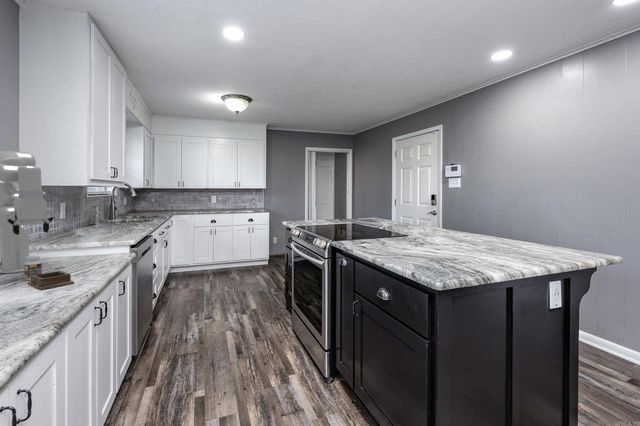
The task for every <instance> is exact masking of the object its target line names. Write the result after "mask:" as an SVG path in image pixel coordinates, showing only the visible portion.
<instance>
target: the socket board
mask: <svg viewBox="0 0 640 426" xmlns="http://www.w3.org/2000/svg"><path fill="white" fill-rule="evenodd" d="M71 278H72V277H71V273H67V272H66V271H62V270H57V271H56V270H55V271H50V272H44V273H42V274H38V275H32V276H31V280H30V281H28V282H27V285H28V286H30V287H32V288H34V289H37V290H39V291H47V290H51V289H56V288H60V287H66V286H71V285H75V281H74V280H71Z"/></svg>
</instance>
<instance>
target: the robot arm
mask: <svg viewBox="0 0 640 426" xmlns="http://www.w3.org/2000/svg"><path fill="white" fill-rule="evenodd" d="M13 183H17V188H16V186H15V185H14V184H13ZM17 189H18V190H17ZM46 194H47V192H46V191H43V189H42V169H41V168H40V167H38V166H36V158H35V156H34V155H33V154H32V153H29V152H22V151H14V150H13V151H12V150H2V151H1V150H0V244H1V245H0V246H1V263H2V265H1V266H2V267H1V268H0V274H16V273H24V263H25V262H26V260H25V257H29V256H30V244H29V243H30V241H29V239H30V237H29V233H28V231H27V230H26V229H25V228H23V227H22V226H28V225H31V226H32V225H41V224H42V230H43V231H42V232H43V233H48V232H49V231H50V223H51V222H52V221H54V219H55V217H56V215H57V213H55V212H53V211H49V210H48V209H47V204H46V200H45V198H44V197H43V196H46ZM48 215H50V216H49V217H48Z"/></svg>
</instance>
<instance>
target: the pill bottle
mask: <svg viewBox="0 0 640 426" xmlns="http://www.w3.org/2000/svg"><path fill="white" fill-rule="evenodd" d="M40 258H41V256H40V255H29V257H25V260H26V262H25V263H24V272H23V278H24V280H25V281H31V276H32V275H38V274H43V271H42V267H43V266H42V261H41V260H40Z"/></svg>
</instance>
